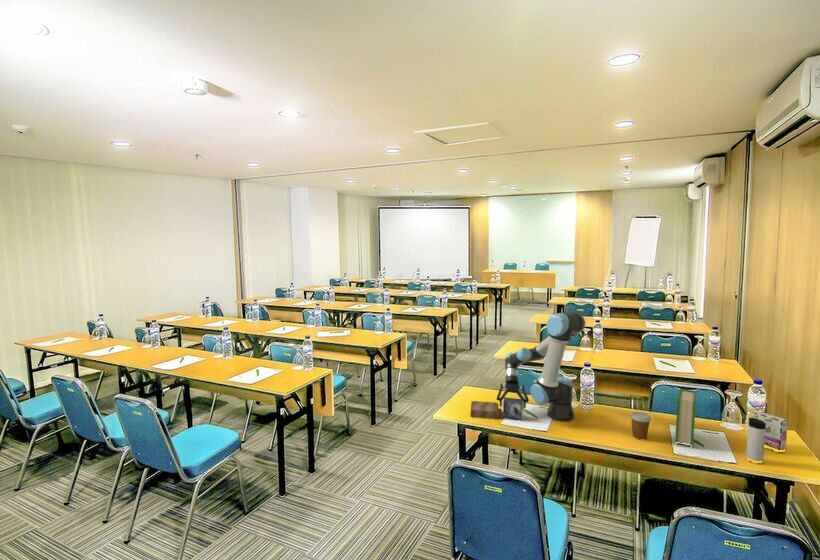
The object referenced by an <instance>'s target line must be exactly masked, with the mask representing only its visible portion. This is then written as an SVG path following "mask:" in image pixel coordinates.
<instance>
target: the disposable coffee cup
mask: <svg viewBox="0 0 820 560" xmlns="http://www.w3.org/2000/svg"><path fill="white" fill-rule="evenodd" d="M629 415H630V416H629V417H630V419H631V429H632V437H633V438H634V437H635V439H636V438H638V439H637V440H640V439H645V440H647V437H648V432H649V428H650V424H651V423H650V422H651V421H652V418H651V416H650V414H648V413H645V412H641V411H633V412H631V414H629Z"/></svg>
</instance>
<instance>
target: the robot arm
mask: <svg viewBox="0 0 820 560" xmlns="http://www.w3.org/2000/svg"><path fill="white" fill-rule="evenodd" d="M585 328H586V320H585V318H584V316H583V315H582V314H580V313H579V312H577V311H572V312H571V311H570V312H559V313H555V314H552V315H551V316H550V317H548V319H547V321H546V331H547V333H548V336H547V337H546V338H545V339H543V340H542V341H541V342H539V343H538V344H537V345H536V346H534V347H533V348H526V347H522V348H520V349H518V350H517V351H516V352H514V353H513V352H509V353H506V355H504V356H505V357H504V367H505V384H503V383H500V385H499V387H500V388H499V390H498V394H497V396H496V401H498V402H499V407H501V413H502V414H503V401H504V397H506V396H507V395H508V393H514V394H516V395H517V396H518V397H519V399H522V415H524V414H525V409H526V407H527V406H526V405H527V403H529V400H530V399H529V397H528V394H527V392H526V389H525V385H524V384H523V385H519V384H520V383H519V366H521V365H522V364H525V363H529V362H535V361H541V360H544V362H543V367H542V371H541V374H540V375H539V376H538V377H537V378H536V383H533V384H532V385H531V386H530V389H529V390H530V396H531V398H532V400H533V402H535V403H536V404H537V405H548V404H549V405H548V407H547V410H546V415H547V417H548V418H550V419H552V420H555V421H558V422H559V421H560V422H571V421H573V420H575V411H574V408H573V402H572V401H573V387H574V386H573V381H572V379H570V378H568V377H565V376H560V375H559V373H560V370H561V369H560V368H561V365H562V363H563V362H562V361H563V358H564V356H565V351H566V346H567V343H569V342H571V340H572V337H576V336H577V335H579V334H581V332H582V331H584V329H585ZM503 389H505V391H504V392H503ZM519 389H520V390H521V392H522V393H521V392H520V390H519ZM502 392H503V393H502Z"/></svg>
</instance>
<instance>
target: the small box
mask: <svg viewBox="0 0 820 560" xmlns="http://www.w3.org/2000/svg"><path fill="white" fill-rule="evenodd" d="M522 415H523V414H522V399H520V398H514V397H506V396H505V397H504V399H503V413H502V419H509V420H517V421H522V417H523V416H522Z"/></svg>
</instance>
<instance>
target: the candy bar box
mask: <svg viewBox="0 0 820 560" xmlns="http://www.w3.org/2000/svg"><path fill="white" fill-rule="evenodd" d="M756 419H759V420H761V421H764V422H765V423H766V433H765V445H767V446H769V447H772V448H775V449H778V450H784V449H787V434H788V425H789V420H788V419H786V418H783V417H780V416H776V415H774V414H771V413H767V412H764V411H761V412H757V413H756Z"/></svg>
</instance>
